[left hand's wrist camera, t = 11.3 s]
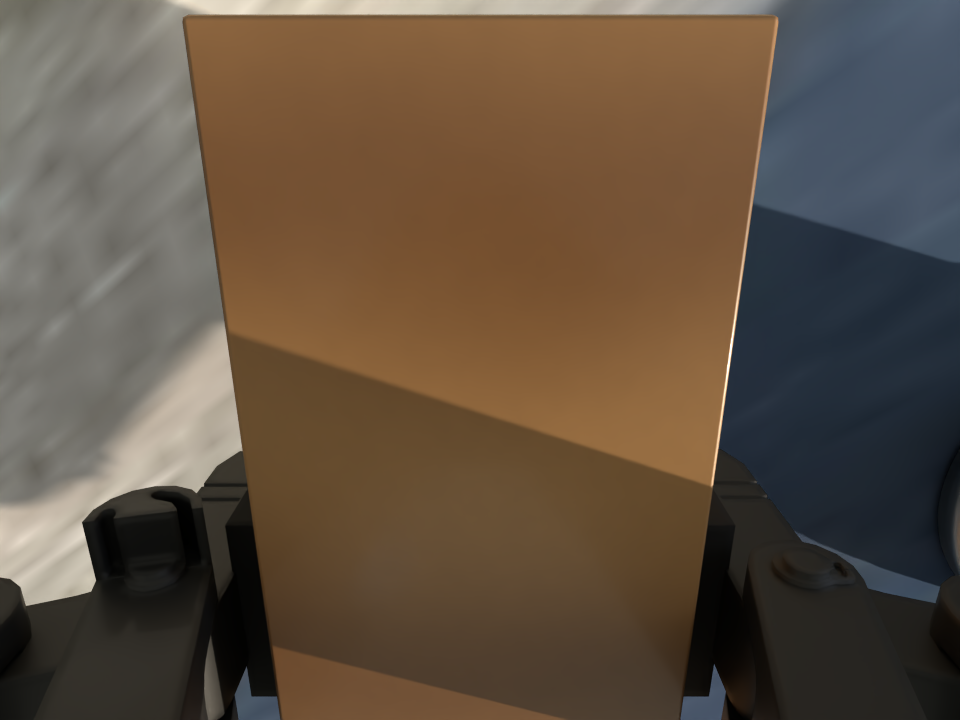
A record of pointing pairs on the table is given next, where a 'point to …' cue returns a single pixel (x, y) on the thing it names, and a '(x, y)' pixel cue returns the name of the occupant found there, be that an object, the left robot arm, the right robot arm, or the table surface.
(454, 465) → the beam
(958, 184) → the table surface
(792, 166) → the table surface
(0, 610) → the left robot arm
